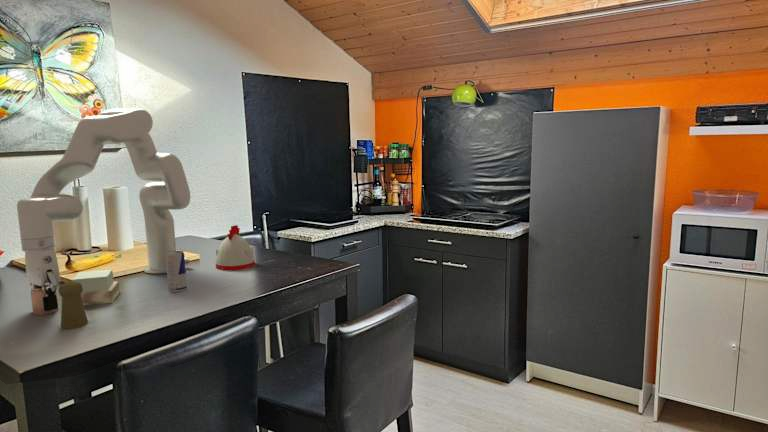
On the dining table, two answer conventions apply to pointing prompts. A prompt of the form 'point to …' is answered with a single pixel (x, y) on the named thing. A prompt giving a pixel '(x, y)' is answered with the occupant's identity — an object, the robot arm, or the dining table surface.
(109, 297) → the tower base
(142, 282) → the dining table surface
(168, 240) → the robot arm
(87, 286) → the tower top
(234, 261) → the white beanie hat
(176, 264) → the energy drink
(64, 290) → the olive pepper mill
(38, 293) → the pink cube
